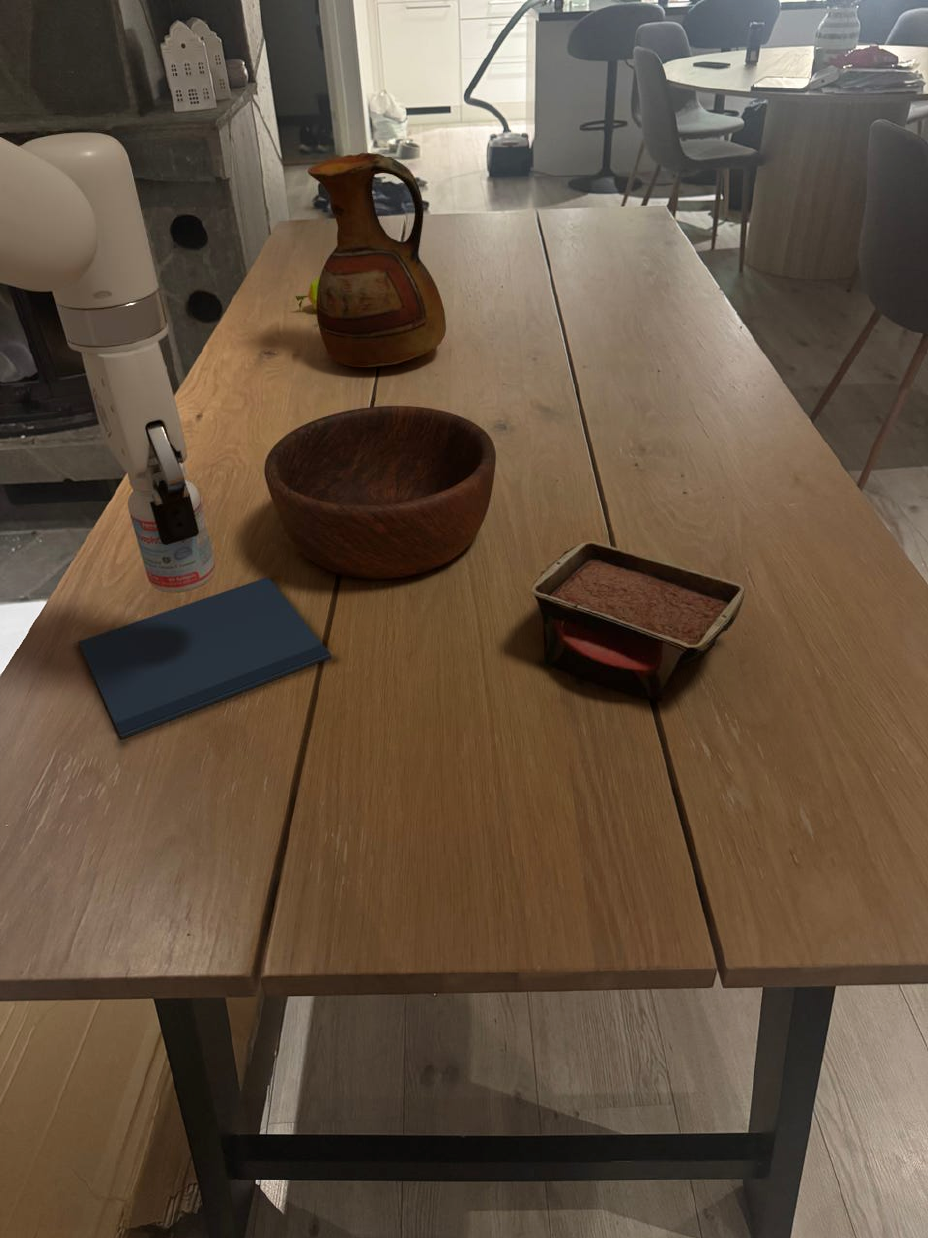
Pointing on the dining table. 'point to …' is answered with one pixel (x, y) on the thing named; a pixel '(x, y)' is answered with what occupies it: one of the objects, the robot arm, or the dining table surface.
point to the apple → (311, 294)
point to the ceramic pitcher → (374, 272)
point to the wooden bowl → (382, 489)
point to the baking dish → (629, 616)
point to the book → (199, 655)
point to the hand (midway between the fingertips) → (168, 520)
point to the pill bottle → (177, 561)
